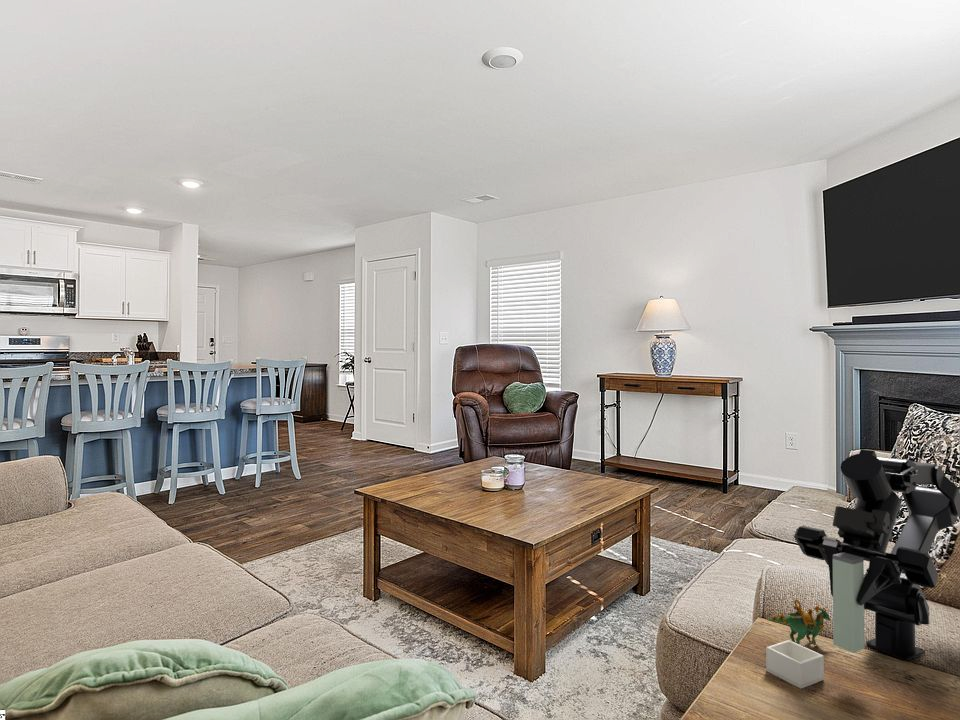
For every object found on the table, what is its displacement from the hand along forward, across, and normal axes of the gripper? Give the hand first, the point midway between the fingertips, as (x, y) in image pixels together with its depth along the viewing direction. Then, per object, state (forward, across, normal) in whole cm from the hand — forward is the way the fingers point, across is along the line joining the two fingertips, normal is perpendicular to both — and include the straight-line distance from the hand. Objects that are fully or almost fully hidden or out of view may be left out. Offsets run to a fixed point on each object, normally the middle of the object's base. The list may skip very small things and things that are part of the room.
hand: (845, 599), depth 86 cm
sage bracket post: (+5, 0, +6) cm, 7 cm away
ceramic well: (+12, -6, +7) cm, 15 cm away
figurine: (+4, -10, +15) cm, 19 cm away
